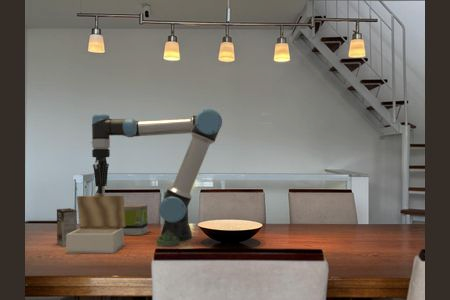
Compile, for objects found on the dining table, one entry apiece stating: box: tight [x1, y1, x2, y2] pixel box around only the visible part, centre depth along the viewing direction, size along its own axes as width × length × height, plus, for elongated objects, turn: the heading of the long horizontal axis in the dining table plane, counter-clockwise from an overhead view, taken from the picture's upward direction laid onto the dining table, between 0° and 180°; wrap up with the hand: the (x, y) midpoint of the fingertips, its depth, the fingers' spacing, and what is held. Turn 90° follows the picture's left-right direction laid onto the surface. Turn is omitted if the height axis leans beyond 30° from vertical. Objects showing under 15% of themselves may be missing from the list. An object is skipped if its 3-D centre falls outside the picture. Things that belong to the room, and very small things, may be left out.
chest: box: [65, 228, 125, 255], centre depth 167 cm, size 20×14×8 cm
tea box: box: [124, 204, 149, 236], centre depth 200 cm, size 15×10×15 cm, turn 84°
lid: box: [76, 194, 126, 229], centre depth 172 cm, size 21×16×2 cm
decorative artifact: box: [156, 229, 180, 248], centre depth 174 cm, size 10×7×10 cm
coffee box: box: [56, 208, 78, 248], centre depth 178 cm, size 9×6×16 cm
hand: (101, 200), depth 173 cm, fingers closed
